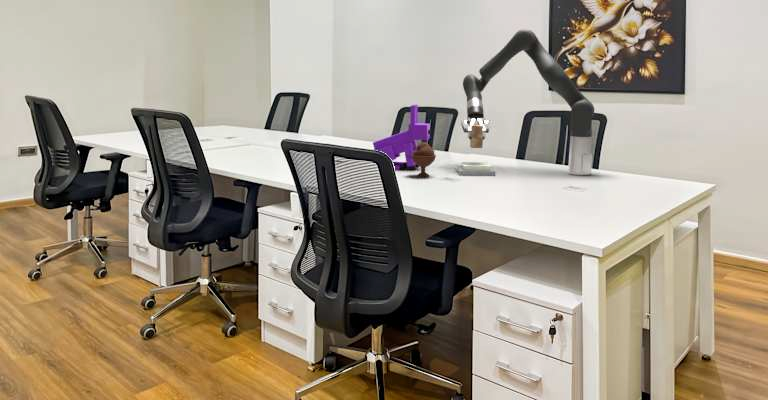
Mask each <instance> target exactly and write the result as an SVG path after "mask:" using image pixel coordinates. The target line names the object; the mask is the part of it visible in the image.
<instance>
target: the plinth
mask: <svg viewBox="0 0 768 400" xmlns="http://www.w3.org/2000/svg"><path fill="white" fill-rule="evenodd" d="M456 171H457V173H458V175H459V176H468V177H469V176H471V177H472V176H473V177H474V176H477V177H479V176H480V177H482V176H483V177H485V176H487V177H492V176H494V177H496V170H495V169H494V168H493V167H492V166H491V165H490V164H489V163H488V162H487V161H486V162H477V161H476V162H475V161H473V162H470V161H466V162H464V161H462V162H461V165H456Z"/></svg>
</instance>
